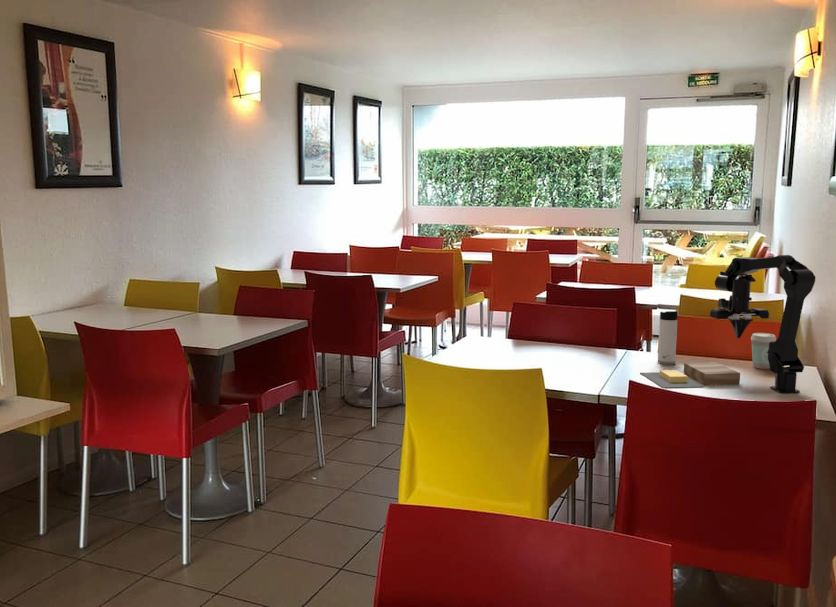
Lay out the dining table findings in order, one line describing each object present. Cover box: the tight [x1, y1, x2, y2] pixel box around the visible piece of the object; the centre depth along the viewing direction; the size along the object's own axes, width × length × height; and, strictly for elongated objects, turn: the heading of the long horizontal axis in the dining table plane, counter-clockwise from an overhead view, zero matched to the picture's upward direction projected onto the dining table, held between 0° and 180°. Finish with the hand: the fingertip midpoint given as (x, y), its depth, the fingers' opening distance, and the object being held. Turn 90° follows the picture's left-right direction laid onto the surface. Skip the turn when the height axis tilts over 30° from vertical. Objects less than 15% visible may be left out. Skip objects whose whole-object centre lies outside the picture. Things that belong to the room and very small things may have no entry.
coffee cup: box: [750, 332, 777, 370], centre depth 271 cm, size 8×8×12 cm
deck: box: [683, 361, 741, 387], centre depth 254 cm, size 16×12×4 cm
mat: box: [639, 371, 705, 389], centre depth 253 cm, size 20×14×1 cm
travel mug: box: [657, 310, 679, 366], centre depth 277 cm, size 6×7×20 cm
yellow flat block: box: [659, 369, 688, 382], centre depth 253 cm, size 9×6×2 cm, turn 4°
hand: (738, 338), depth 259 cm, fingers closed
